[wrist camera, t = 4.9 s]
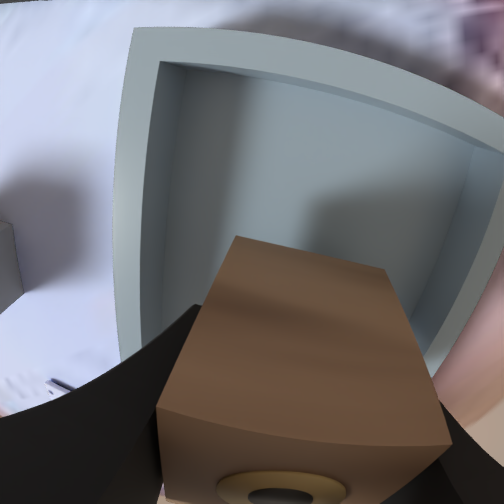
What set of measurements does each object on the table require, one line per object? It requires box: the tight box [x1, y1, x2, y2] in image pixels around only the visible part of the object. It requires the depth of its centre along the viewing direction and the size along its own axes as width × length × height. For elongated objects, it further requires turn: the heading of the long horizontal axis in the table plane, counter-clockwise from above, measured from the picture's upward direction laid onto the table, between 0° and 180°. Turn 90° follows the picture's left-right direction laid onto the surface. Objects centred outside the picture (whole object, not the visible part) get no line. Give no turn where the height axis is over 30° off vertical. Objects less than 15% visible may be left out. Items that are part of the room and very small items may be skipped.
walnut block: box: [156, 235, 452, 504], centre depth 7 cm, size 4×4×6 cm
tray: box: [112, 27, 504, 378], centre depth 11 cm, size 16×12×3 cm
